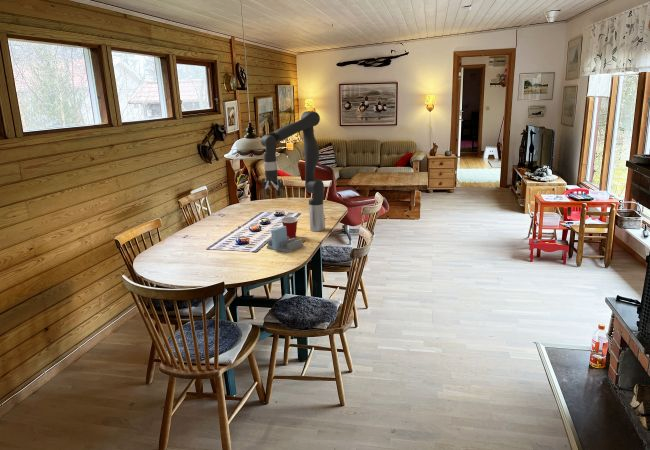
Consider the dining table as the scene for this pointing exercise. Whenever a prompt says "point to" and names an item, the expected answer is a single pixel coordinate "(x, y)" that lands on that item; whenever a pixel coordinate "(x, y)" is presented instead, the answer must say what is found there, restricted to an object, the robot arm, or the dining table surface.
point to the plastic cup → (290, 226)
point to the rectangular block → (278, 236)
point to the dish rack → (287, 245)
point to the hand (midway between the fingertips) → (273, 195)
